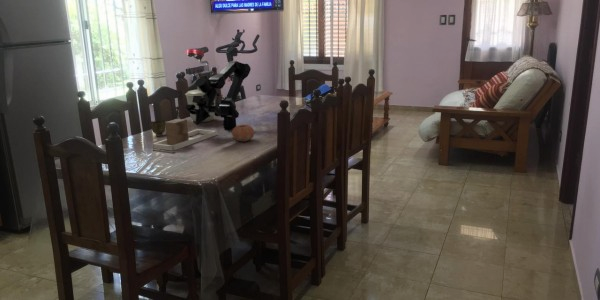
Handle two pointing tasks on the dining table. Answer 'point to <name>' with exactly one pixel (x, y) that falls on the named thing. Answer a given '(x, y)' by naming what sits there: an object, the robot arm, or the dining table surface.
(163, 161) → the dining table surface
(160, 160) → the dining table surface
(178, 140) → the tan upright block
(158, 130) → the cup
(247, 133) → the orange pumpkin
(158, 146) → the trap box
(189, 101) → the canister
